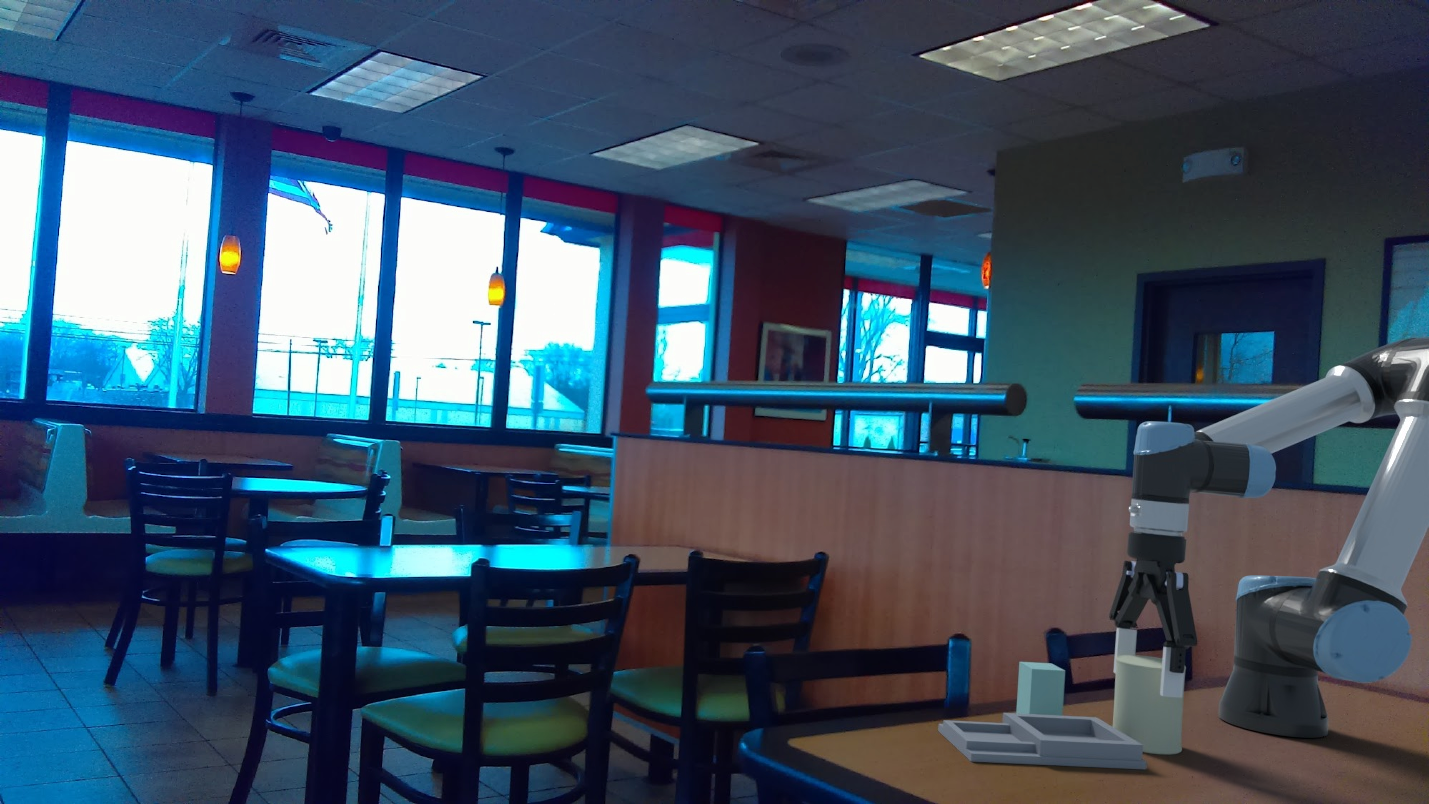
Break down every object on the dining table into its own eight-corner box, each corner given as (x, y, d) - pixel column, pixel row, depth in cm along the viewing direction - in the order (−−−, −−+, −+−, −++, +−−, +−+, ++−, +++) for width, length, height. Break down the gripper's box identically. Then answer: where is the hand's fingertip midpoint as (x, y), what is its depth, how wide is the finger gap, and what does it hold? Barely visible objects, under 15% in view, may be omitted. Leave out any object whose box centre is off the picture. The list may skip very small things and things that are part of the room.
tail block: (1048, 716, 163) (1051, 663, 163) (1061, 725, 158) (1065, 670, 158) (1016, 715, 163) (1019, 661, 163) (1028, 724, 158) (1032, 668, 158)
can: (1188, 758, 145) (1193, 668, 145) (1116, 749, 147) (1121, 660, 147) (1173, 740, 154) (1178, 655, 154) (1105, 732, 156) (1110, 648, 156)
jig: (1097, 738, 152) (1099, 717, 152) (1146, 769, 138) (1147, 745, 138) (938, 730, 150) (939, 709, 150) (970, 761, 136) (972, 737, 136)
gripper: (1092, 522, 164) (1082, 663, 163) (1177, 538, 139) (1165, 705, 138) (1140, 526, 164) (1129, 667, 163) (1233, 543, 139) (1221, 709, 139)
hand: (1146, 684), depth 151 cm, fingers open, 13 cm apart
